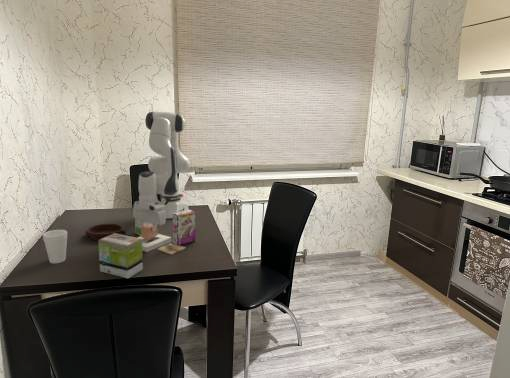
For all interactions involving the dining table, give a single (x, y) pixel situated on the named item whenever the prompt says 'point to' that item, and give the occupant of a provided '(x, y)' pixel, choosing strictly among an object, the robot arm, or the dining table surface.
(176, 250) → the cork pad
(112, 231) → the dish
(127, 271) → the tea box
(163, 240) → the pocket board
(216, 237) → the dining table surface
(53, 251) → the foam cup
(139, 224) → the skincare box
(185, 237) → the candy bar box
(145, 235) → the part
